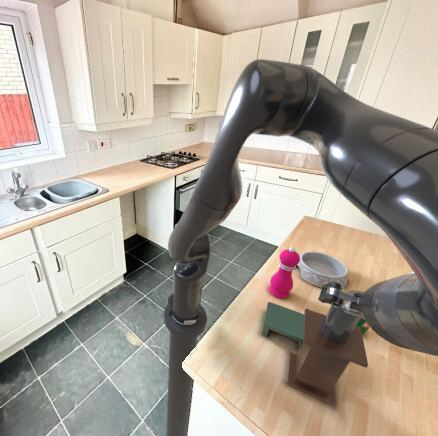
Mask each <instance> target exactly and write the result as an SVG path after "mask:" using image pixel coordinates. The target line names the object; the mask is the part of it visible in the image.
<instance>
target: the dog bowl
mask: <svg viewBox="0 0 438 436" xmlns="http://www.w3.org/2000/svg"><path fill="white" fill-rule="evenodd" d="M299 256H300V261H299V263H298V264H297V265H296V266H298V268H299V270H300V273H301V275H300V278H301V280H304V281H305V282H306V283H308V284H310V285H312V286H315V287H318V288H320V289H322V285H324V284H327V283H330V282H336V283H339V284H340V285H342V286H341V287H343V289H345V288H346V287H347V284H348V277H349V268H348V266H347V265H346V264H345V263H344V262H343V261H341V260H340V259H339V258H337V257H335V256H333V255H330V254H328V253H324V252H322V251H313V250H312V251H311V250H309V251H304V252H302V253H301V254H299Z"/></svg>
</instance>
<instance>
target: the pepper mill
mask: <svg viewBox="0 0 438 436" xmlns="http://www.w3.org/2000/svg"><path fill="white" fill-rule="evenodd" d="M278 259H279V262H278V266H279V268H278V270H277V271H276V272H275V273H274V274H273V275H272V276H271V278H270V280H269V283H270V285H269V292H270V294H271V295H272V296H273V297H275V298H278V299H286V298H287V297H288V296H289V294H290V292H291V291H292V290H293V287H294V280H293V271H295V270H296V267H297V266H298V265H297V264H298V263H299V261H300V254H299V253H298V252H297V251H296V249H295V247H293V246H290V247H289V249H288V248H287V249H284V250H282V251H281V252H280V254H279V258H278Z"/></svg>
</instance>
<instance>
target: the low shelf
mask: <svg viewBox="0 0 438 436" xmlns="http://www.w3.org/2000/svg"><path fill="white" fill-rule="evenodd" d="M265 309H266V310H265V313H264V318H263V323H262V329H261V333H260V334H261V336H265V337H268V334H269V331H270V330H271V331H272V332H275V333H278V334H279V335H282V336H285V337H287V338H290V339H293V340H295V341H297V342H298V351H299V350H300V348H301V346H302V343H303V333H304V313H302V312H299V311H296V310H293V309H290V308H288V307H285V306H282V305H280V304H277V303H274V302H271V301H267V303H266V308H265Z"/></svg>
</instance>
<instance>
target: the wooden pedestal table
mask: <svg viewBox="0 0 438 436" xmlns="http://www.w3.org/2000/svg"><path fill="white" fill-rule="evenodd" d="M303 314H304V333H303V343H302V346H301V348H300V350H298V352H297V354H295V353H294V352H289V353H288V363H287V372H286V373H287V375H286V385H287V386H290V387H292V388H293V389H296V390H298V391H300V392H302V393H304V394H305V395H307V396H311V397H312V398H314V399H316V400H319V401H320V402H322V403H325V404H326V405H329V406H331V407H335V406H336V391H335V386H336V384H337V383H338V381H339V380H340V378H341V376H342V375H343V373H344V371H345V370H346V368H347V367H348V365H349V364H350V363H352V364H355V365H358V366H360V367H363V368H365V369H367V368H368V366H369V362H368V358H367V353H366V351H367V350H366V347H365V341H364V337H363V334H362V331H361V327H358V326H355V328H354V329H353V331H352V333H351V335H350V336H349V338H348V340H347V341H346V342H345V343H343V344H339V343H335V342H332V341H330V340H329V339H327V338H326V337H325V336H324V335H323V334H322V332H321V330H320V326H321V324H322V322H323V320H324V318H325V316H326V314H323V313H320V312H317V311H315V310H312V309H309V308H304V310H303Z"/></svg>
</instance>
